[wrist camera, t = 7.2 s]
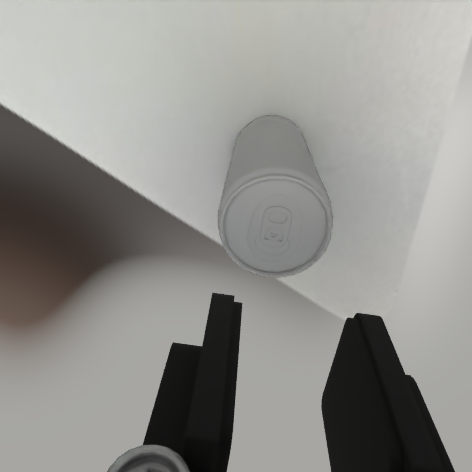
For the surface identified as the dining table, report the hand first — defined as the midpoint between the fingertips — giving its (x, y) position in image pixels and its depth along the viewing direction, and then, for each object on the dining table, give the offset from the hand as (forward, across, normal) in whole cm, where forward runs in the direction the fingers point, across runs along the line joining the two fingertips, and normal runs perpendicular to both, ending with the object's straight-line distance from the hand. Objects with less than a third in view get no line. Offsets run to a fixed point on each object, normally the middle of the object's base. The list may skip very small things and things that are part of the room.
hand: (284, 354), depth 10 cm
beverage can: (+19, 0, 0) cm, 19 cm away
